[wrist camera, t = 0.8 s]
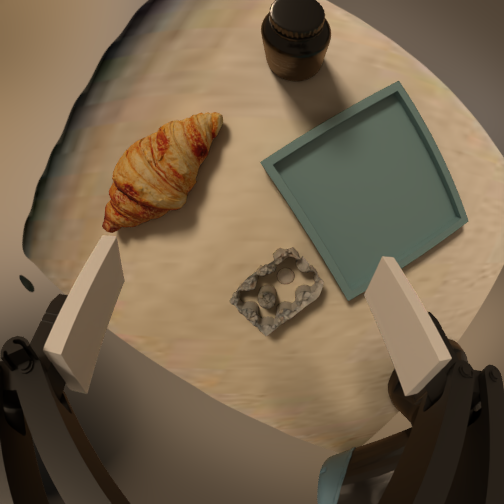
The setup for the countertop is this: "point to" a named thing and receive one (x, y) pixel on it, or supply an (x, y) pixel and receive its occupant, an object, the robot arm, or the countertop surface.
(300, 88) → the countertop surface
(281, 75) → the supplement bottle
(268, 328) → the egg carton
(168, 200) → the croissant
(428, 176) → the tray
